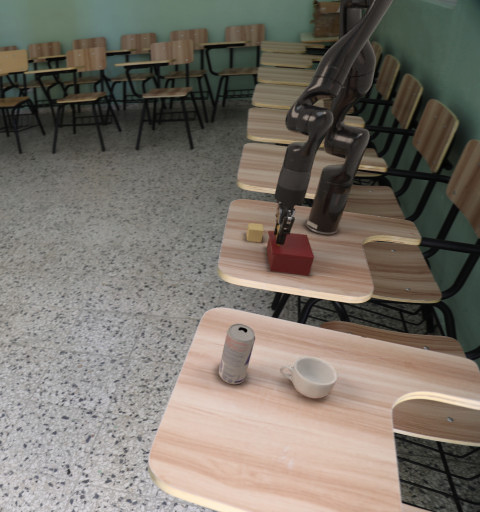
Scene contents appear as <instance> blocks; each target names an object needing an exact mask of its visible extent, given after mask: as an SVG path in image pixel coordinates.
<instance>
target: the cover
mask: <svg viewBox="0 0 480 512" xmlns="http://www.w3.org/2000/svg"><path fill="white" fill-rule="evenodd" d="M278 229H279V225H278V226H277V231H278ZM267 234H268V240H270V245H271V251H272V255H280V256H288V257H297V258H305V259H313V260H314V259H315V256H314V252H313V249H312V246H311V243H310V239H309V237H308V234H305V233H304V234H303V233H293V232H290V234H289V235H286V239H285V243H284V245H279V244H276V238H277V235H274V230H268V232H267ZM277 234H278V232H277Z"/></svg>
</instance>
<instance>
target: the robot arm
mask: <svg viewBox="0 0 480 512" xmlns="http://www.w3.org/2000/svg"><path fill="white" fill-rule="evenodd" d="M393 2H394V0H339V30H338V31H339V33H338V34H339V35H338V40H337V41H336V42H334V44H333V45H332V46H331V47H330V48H328V50H326V52H325V53H324V55H322V57H321V59H320V60H319V63H318V65H317V67H316V69H315V71H314V73H313V76H312V78H311V80H310V82H309V84H308V85H307V86H306V87H305V89H304V90H303V91H302V93H301V94H300V95H299V97H298V98H297V99H296V100H295V102H293V104H292V105H291V107H290V108H289V109H288V111H287V113H286V116H285V119H284V121H285V122H284V123H285V128H286V129H287V131H289V132H291V133H295V134H298V135H302V136H307V137H308V139H307V141H293V142H291V143H289V144H288V145H287V147H286V150H285V153H284V158H283V160H282V161H283V162H282V166H281V168H280V171H279V174H278V178H277V182H276V183H277V184H276V187H275V190H274V191H275V192H274V196H273V197H274V199H275V200H276V201H277V207H276V211H275V212H276V213H275V215H274V216H275V226H274V229H273V231H274V235H277V238H276V244H279V245H284V243H285V239H286V235H289V234H290V233H291V231H292V228H293V226H294V223H295V221H296V217H295V213H296V208H295V207H296V206H298V205H301V204H303V203H304V202H305V199H306V195H307V191H308V187H309V185H310V181H311V176H312V169H313V166H314V162H315V159H316V156H317V153H318V151H319V148H320V147H321V145H322V144H323V151H324V153H326V154H327V155H330V156H333V157H337V158H340V159H345V161H344V162H343V163H339V164H329V165H326V166H324V167H323V168H322V170H321V172H320V176H319V179H318V183H317V187H316V190H315V194H314V197H313V201H312V204H311V207H310V211H309V214H308V218H307V221H306V223H305V226H306V228H307V229H308V230H309V231H310V232H313V233H315V234H319V235H324V236H330V235H334V234H336V233H338V230H339V226H340V223H341V221H342V217H343V214H344V212H345V208H346V205H347V203H348V199H349V196H350V194H351V193H350V192H351V189H352V187H353V184H354V181H355V178H356V175H357V173H358V171H359V168H360V166H361V162H362V160H363V157H364V155H365V152H366V150H367V147H368V144H369V141H370V131H369V130H368V129H367V128H362V127H359V126H353V125H349V124H346V123H345V120H346V116H347V114H348V113H349V111H350V110H351V109H352V108H353V107H354V106H355V105H356V104H357V103H358V102H359V101H360V100H361V99H362V98H364V96H365V95H366V94H367V93H368V92H369V90H370V89H371V87H372V85H373V81H374V78H375V77H374V76H375V71H376V65H377V56H376V53H375V49H374V48H373V45H372V43H371V42H370V38H371V36H372V34H373V33H374V32H375V31H376V29H377V27H378V26H379V24H380V23H381V21H382V20H383V17H384V16H385V15H386V13H387V11H388V10H389V8H390V6H391V5H392V3H393ZM362 10H365V12H364V13H363V15H362ZM324 100H331V102H330V103H331V104H330V109H329V108H327V107H323V106H318V105H315V104H316V103H317V102H319V101H324ZM278 225H279V229H278V231H277V226H278ZM277 232H278V234H277Z"/></svg>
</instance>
